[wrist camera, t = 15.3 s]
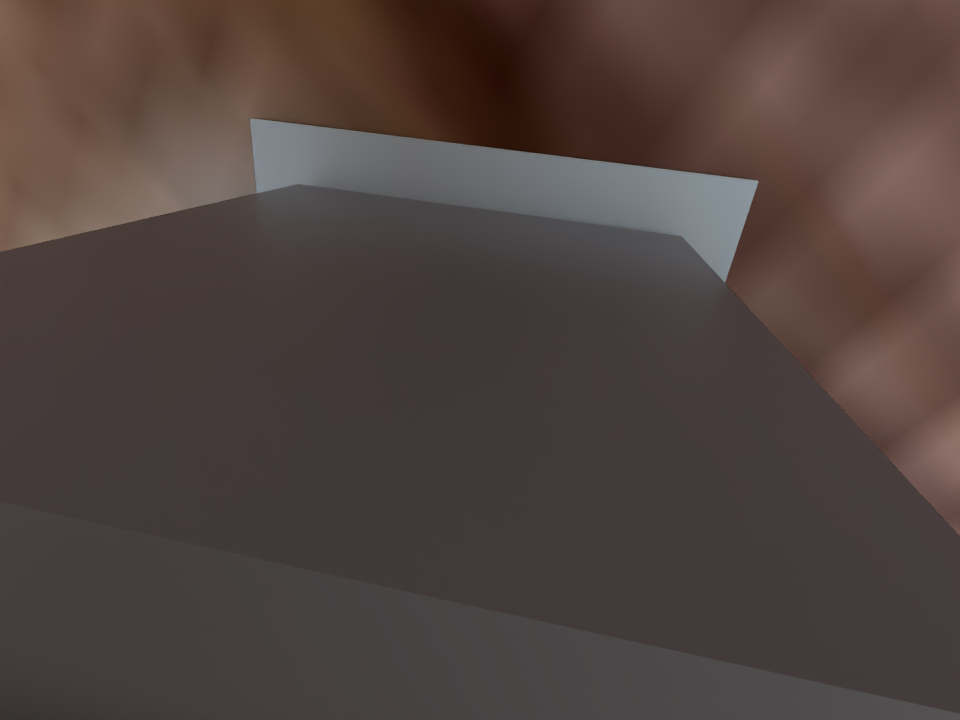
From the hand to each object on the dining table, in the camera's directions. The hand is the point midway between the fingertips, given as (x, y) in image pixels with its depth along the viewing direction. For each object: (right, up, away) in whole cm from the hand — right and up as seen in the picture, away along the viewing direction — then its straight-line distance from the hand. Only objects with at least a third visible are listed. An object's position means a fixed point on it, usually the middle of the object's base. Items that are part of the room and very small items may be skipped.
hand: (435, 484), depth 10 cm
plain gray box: (0, +1, +2) cm, 3 cm away
